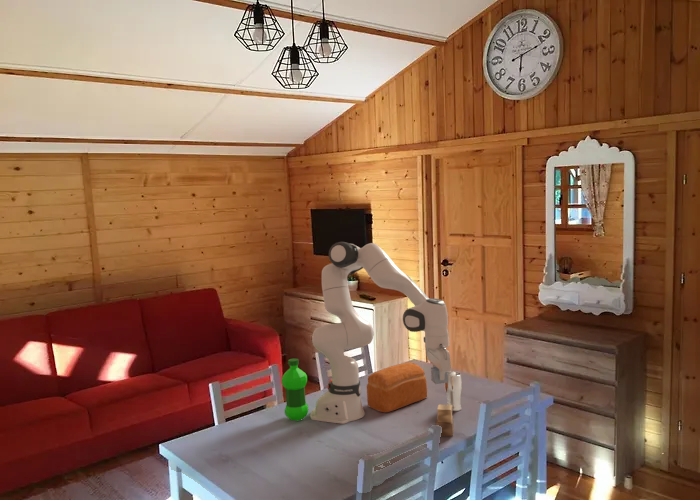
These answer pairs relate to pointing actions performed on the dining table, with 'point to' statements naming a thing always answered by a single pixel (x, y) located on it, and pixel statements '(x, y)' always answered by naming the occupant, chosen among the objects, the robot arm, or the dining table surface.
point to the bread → (396, 387)
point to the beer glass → (454, 390)
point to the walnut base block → (446, 428)
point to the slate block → (435, 376)
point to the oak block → (444, 413)
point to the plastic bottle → (295, 391)
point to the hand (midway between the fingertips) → (439, 377)
